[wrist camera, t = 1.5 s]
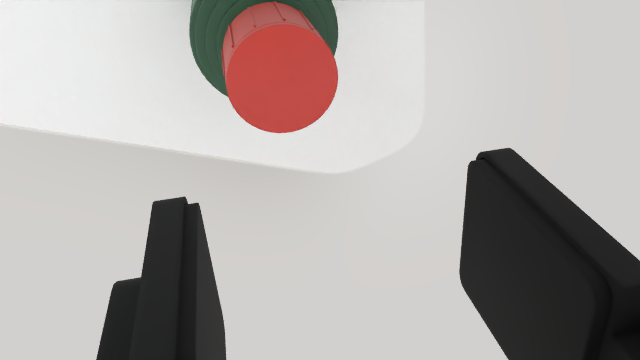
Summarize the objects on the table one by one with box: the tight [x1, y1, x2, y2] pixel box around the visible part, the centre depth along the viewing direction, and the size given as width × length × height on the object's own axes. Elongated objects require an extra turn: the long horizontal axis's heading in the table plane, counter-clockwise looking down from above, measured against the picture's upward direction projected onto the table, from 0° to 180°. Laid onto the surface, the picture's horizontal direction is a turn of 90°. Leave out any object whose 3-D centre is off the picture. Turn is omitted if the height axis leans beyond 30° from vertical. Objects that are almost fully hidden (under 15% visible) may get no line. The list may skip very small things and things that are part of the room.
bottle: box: [190, 0, 338, 97], centre depth 27 cm, size 6×6×20 cm
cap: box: [221, 1, 338, 133], centre depth 20 cm, size 4×4×4 cm
